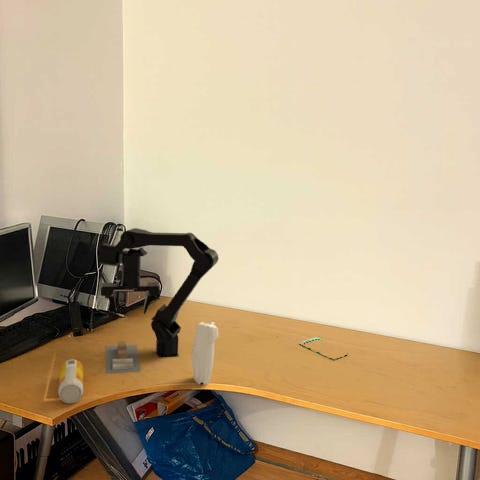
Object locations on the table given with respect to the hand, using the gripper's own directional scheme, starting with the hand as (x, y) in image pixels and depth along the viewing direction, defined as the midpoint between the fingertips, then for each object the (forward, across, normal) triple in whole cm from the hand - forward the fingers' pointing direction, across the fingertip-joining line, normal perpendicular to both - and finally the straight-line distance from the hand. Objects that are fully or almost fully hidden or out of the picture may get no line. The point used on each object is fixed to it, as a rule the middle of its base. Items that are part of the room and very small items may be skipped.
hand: (130, 314), depth 163 cm
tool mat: (+12, +2, +8) cm, 15 cm away
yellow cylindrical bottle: (+9, +17, +19) cm, 27 cm away
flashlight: (+12, -20, +26) cm, 35 cm away
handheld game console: (+13, -67, +7) cm, 69 cm away
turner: (+11, +3, +9) cm, 15 cm away
